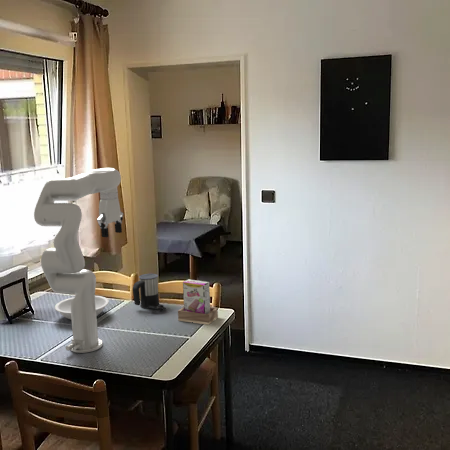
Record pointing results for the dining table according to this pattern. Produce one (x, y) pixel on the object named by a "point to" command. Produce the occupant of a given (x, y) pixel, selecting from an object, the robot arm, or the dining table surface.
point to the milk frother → (147, 292)
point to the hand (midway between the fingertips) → (112, 234)
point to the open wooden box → (198, 316)
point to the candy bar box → (196, 296)
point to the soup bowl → (65, 304)
